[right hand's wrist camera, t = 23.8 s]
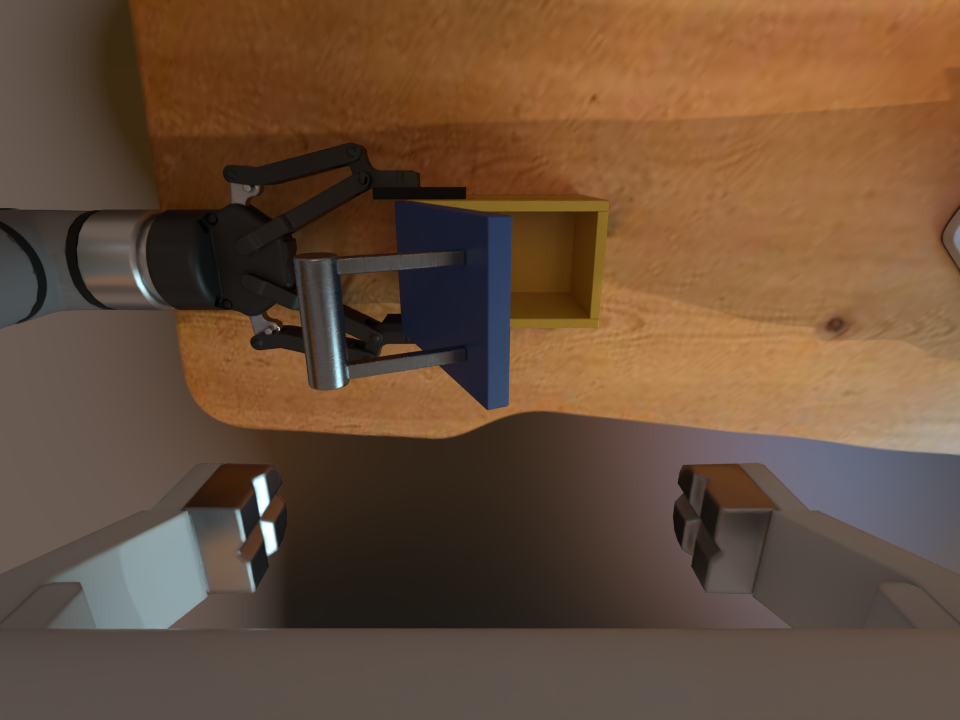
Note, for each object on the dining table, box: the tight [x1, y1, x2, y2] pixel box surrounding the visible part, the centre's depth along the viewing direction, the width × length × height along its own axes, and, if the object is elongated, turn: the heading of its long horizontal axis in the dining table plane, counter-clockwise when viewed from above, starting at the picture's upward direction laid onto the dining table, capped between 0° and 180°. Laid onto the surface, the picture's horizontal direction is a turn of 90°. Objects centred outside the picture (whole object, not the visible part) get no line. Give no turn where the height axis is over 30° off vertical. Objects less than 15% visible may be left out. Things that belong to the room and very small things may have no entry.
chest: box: [406, 195, 609, 328], centre depth 41 cm, size 14×9×10 cm, turn 90°
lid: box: [293, 201, 512, 410], centre depth 28 cm, size 14×9×9 cm
